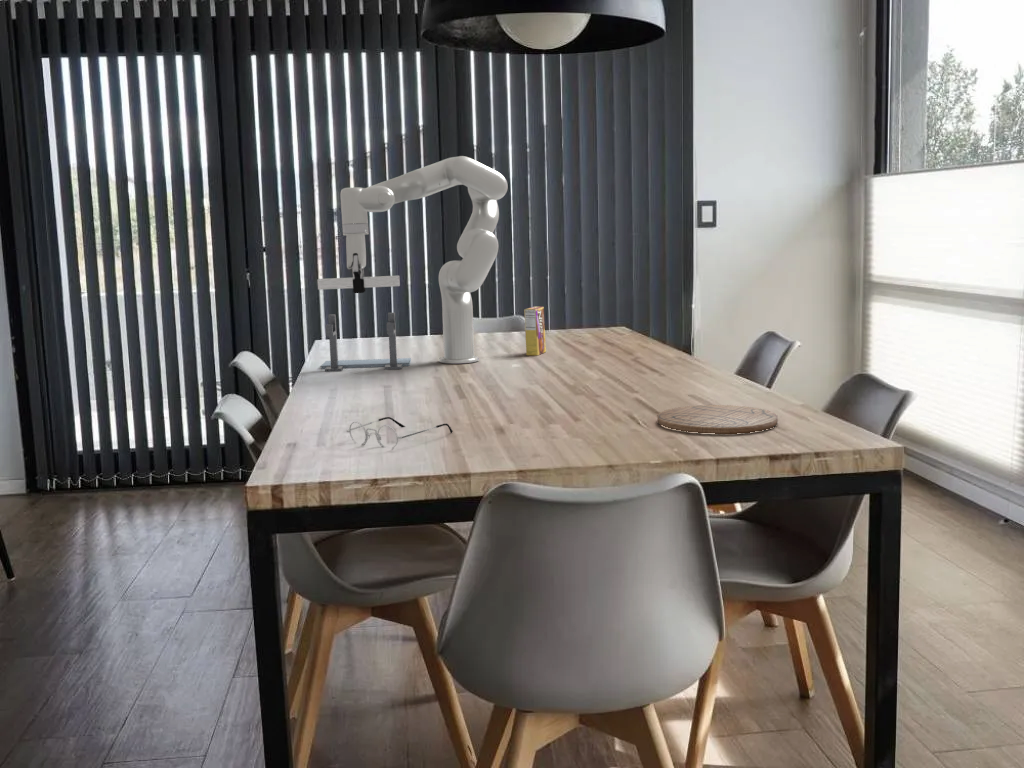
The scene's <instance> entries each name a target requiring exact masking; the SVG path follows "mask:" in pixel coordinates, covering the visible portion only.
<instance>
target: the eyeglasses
mask: <svg viewBox="0 0 1024 768" xmlns="http://www.w3.org/2000/svg"><path fill="white" fill-rule="evenodd" d="M388 419H389V420H391V421H392V422H394V423H395V424H397V426H399V427H400V428H406V426H405V425H404V424H403V423H400V422H399V421H397V420H396V419H394V418H392V417H390V416H387V417H382V418H378V419H377V420H375V421H370V422H368V423H364V424H362V423H360V421H359V422H358V421H353V422H352V423H351V424H350V425H349V429H346V432H347V433H349V435H350V438H351V440H352V441H353V443H355V444H358V442H357V441H356V440H355V439H354V438H353V437H354V436H353V435H352V431H354V430H357V429H360V428H362V429H363V431H364V434H365V437H364V442H363V443H362V445H363V444H364V445H366V444H367V443H368V440H369V439H370V437H371V436H372V432H370V433H369V431H375V433H374V435H375V438H376V440H377V443H378V444H379V445H380V446H381V448H386V446H385V445H384V443H382V442H381V441H382V436H381V434H380V433H379V432H380V430H381V429H382V428H383V427H388V428H390V429H392V430H393V432H394V433H395V436H396V443H395V445H393V446H392V447H391V449H393V448H395V447H396V446H397V445H398V443H399V440H401V439H405V438H407V437H408V438H409V437H410V436H414V435H418V434H421V433H424V432H427V431H429V430H432V429H437V428H441V427H445V426H447V427H448V429H449V433H450V434H453V433H452V432H454V431H453V429H452V427H451V426H450V425H449V423H442V424H439V425H435V426H434V427H431V428H426V429H422V430H419V431H417V432H412V433H410V434H409V433H408V434H405V435H403V436H400V435H399V436H398V433H397V431H396V429H395V428H394V427H392V426H390V425H386V424H385V425H381V426H380V427H379V428H378V430H377V429H373V428H367V429H365V427H366V426H368V425H372V424H373V423H376V422H380V421H384V420H388ZM354 423H356V424H359V426H356V427H355V426H354V427H352V425H353V424H354Z"/></svg>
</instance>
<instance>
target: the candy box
mask: <svg viewBox="0 0 1024 768" xmlns="http://www.w3.org/2000/svg"><path fill="white" fill-rule="evenodd" d="M523 311H524V313H523V314H524V331H525V333H524V334H525V354H526V356H527V357H529V356H530V357H532V356H533V357H534V356H540V355H542V354H545V353H546V352H547V348H546V347H547V344H546V343H547V342H546V330H545V329H546V327H545V326H546V325H545V307H544V306H532V307H528V308H525V309H524V310H523Z"/></svg>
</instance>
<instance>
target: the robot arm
mask: <svg viewBox="0 0 1024 768" xmlns="http://www.w3.org/2000/svg"><path fill="white" fill-rule="evenodd" d="M462 185H463V186H465V187H467V192H468V195H469V197H470V199H471V204H472V213H471V215H470V217H469V220H468V221H467V224H466V225H465V227H464V229H463V231H462V233H461V235H460V236H459V239H458V241H457V244H456V250H457V253H458V255H459V256H460V257H461V258H462V259H461V260H450V261H447V262H445V263H444V264H443V265H442V266H441V268H440V270H439V273H438V284H439V289H440V296H441V307H442V308H441V309H442V311H441V312H442V313H441V315H442V337H443V356H442V357H439V360H438V361H439V362H440V363H441V364H442V363H443V364H452V365H453V364H454V365H455V364H468V363H469V364H470V363H471V364H472V363H477V362H479V361H480V356H478V355H475V344H474V343H475V340H474V339H475V338H474V313H473V312H474V310H473V308H474V306H473V299H472V294H471V293H473V292H476V291H477V290H478V289H479V288H480V287H482V285H483V284H484V282H485V280H486V278H487V276H488V274H489V272H490V271H491V268H492V267H493V264H494V262H495V260H496V258H497V256H498V253H499V240H498V238H497V236H496V235H495V234H494V232H495V229H496V227H497V224H498V222H499V219H500V209H499V204H498V200H500V199H503V198H504V196H505V195H506V194H507V192H508V186H509V185H508V181H507V179H506V178H505V176H504V175H503V174H502V173H500V172H499V171H498V170H495V169H493V168H491V167H489V166H487V165H485V164H483V163H481V162H479V161H477V160H475V159H473V158H472V157H468V156H464V155H459V156H452V157H448V158H445V159H442V160H440V161H437V162H435V163H434V162H433V163H432V164H428V165H426V166H423V167H420V168H417V169H413V170H412V171H409V172H406V173H404V174H401V175H399V176H396V177H393V178H390V179H387V180H384V181H381V182H379V183H376V184H373V185H370V186H368V187H358V186H357V187H344V188H342V189H341V191H340V209H341V210H340V211H341V224H342V225H341V226H342V236H346V238H345V244H346V245H345V247H346V249H345V251H346V253H345V254H346V268H347V270H352V278H353V288H352V291H353V293H354V294H363V293H365V292H366V288H364V279H363V277H365V271H364V269H365V267H366V266H367V250H366V247H367V246H366V235H369V220H368V219H369V218H368V212H369V213H382V212H386V211H389V210H390V209H391V208H393V206H394V205H395V204H399V203H402V202H407V201H413V200H419V199H423V198H426V197H428V196H432V195H434V194H436V193H439V192H441V191H445V190H447V189H450V188H453V187H456V186H462Z"/></svg>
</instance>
